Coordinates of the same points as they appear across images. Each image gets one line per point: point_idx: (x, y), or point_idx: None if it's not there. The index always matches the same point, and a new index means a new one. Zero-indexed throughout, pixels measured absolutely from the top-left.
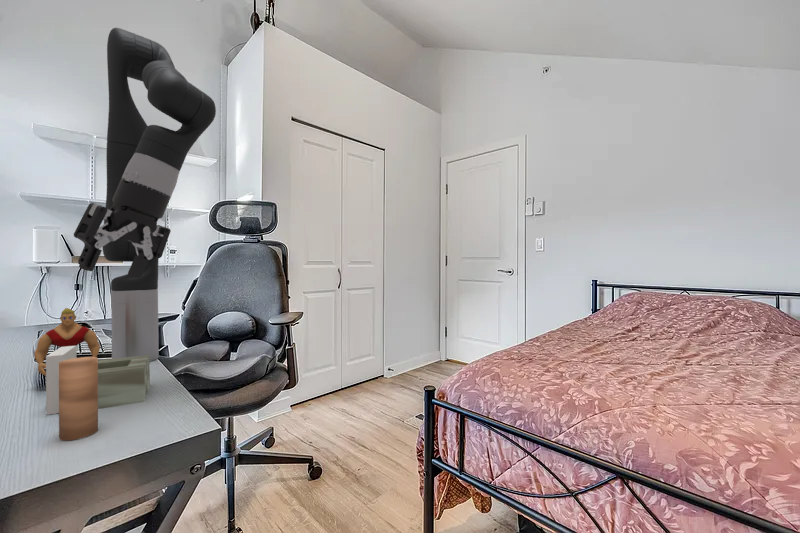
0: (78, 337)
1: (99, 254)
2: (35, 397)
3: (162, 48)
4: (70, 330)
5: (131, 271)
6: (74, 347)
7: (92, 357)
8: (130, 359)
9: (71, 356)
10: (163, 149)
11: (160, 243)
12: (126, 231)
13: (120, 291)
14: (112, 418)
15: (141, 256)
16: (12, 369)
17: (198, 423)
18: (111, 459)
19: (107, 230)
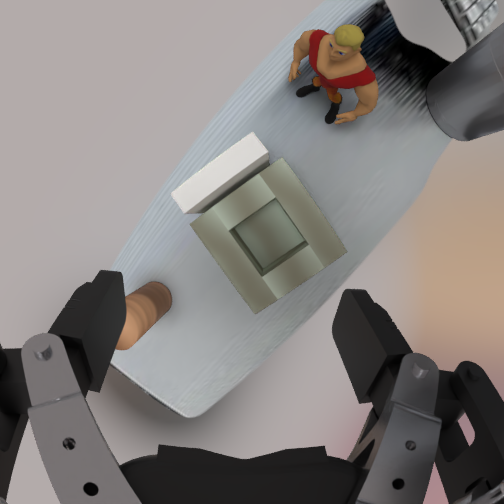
0: (338, 86)
1: (103, 374)
2: (261, 105)
3: None
4: (336, 65)
5: (347, 311)
6: (254, 161)
7: (132, 335)
8: (310, 240)
9: (236, 177)
10: None
11: (443, 479)
12: None
13: None
14: (197, 301)
15: (380, 389)
16: None
17: (200, 402)
18: (125, 368)
19: (100, 462)
